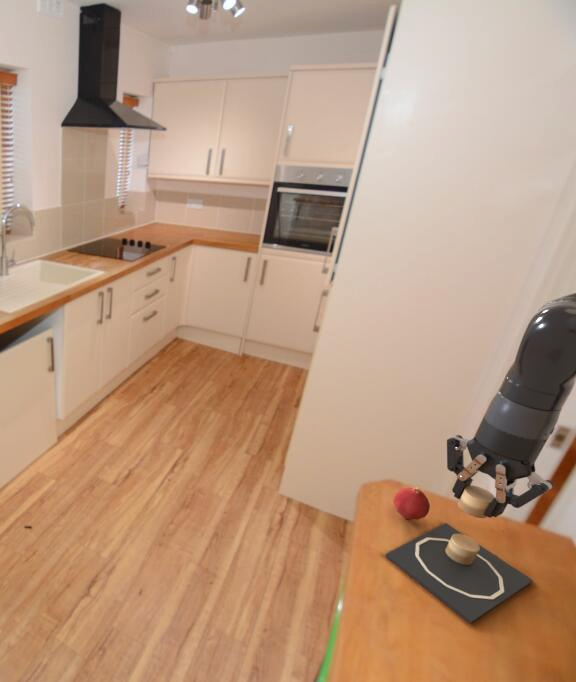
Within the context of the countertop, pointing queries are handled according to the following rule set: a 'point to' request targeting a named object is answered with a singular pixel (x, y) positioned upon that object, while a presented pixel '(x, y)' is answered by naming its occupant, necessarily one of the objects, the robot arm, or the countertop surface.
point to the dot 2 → (462, 549)
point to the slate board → (458, 574)
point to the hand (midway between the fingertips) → (474, 505)
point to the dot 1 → (475, 501)
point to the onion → (411, 503)
